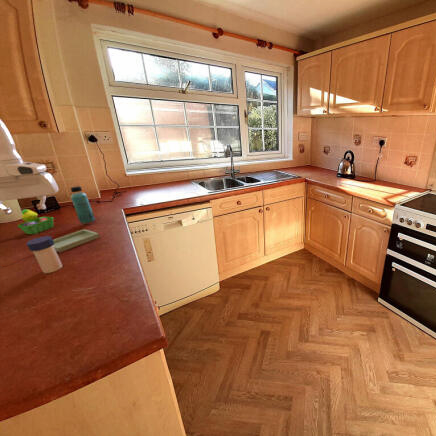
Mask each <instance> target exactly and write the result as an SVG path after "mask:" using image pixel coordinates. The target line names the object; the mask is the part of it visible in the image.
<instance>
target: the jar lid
mask: <svg viewBox="0 0 436 436" xmlns="http://www.w3.org/2000/svg"><path fill="white" fill-rule="evenodd" d="M53 240H54V239H53V237H52V236H51V235H45V236H39V237H35V238H32V239H30V240H28V241H26V246H27V248H28V250H29V251H30V252H32V251H39V250H43V249H46V248H49V247H51V246H52V245H54V242H53Z"/></svg>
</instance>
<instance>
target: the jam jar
mask: <svg viewBox="0 0 436 436" xmlns="http://www.w3.org/2000/svg"><path fill="white" fill-rule="evenodd" d="M31 252H32V253H33V255H34V257H35V260H36V262H37V263H38V265H39V267H40V269H41V271H42V273H43V274H49V273H50V274H51V273H53V272H56V271H58V270H60V269H62V268H63V263H62V261H61V259H60V256H59V254H58V253H57V251H56V250H55V248H54V246H53V245H52V246H51V247H49V248H46V249H43V250H39V251H31Z"/></svg>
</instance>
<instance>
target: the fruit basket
mask: <svg viewBox="0 0 436 436" xmlns="http://www.w3.org/2000/svg"><path fill="white" fill-rule="evenodd" d="M20 212H21V218H22V220H23V221H24V222H22V223H20V224H17V227H18V228H19V229H20V230H21V231H23V233H25V234H26V235H37V234H38V233H42V232H45V231H48V230H49V229H53V228H54V217H53V216H40V217H38V216H39V215H38V213H37V212H35V211H33V210H31V209H26V208H25V209H21V211H20Z"/></svg>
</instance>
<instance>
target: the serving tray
mask: <svg viewBox="0 0 436 436" xmlns="http://www.w3.org/2000/svg"><path fill="white" fill-rule="evenodd" d="M99 238H100V234H99V233H98V232H95V231H92V230H89V229H85V228H84V229H81V230H78V231H75V232H72V233H69V234H66V235H64V236H60V237H57V238H54V239H53V242H54V245H53V246H54V248H55V250H56V252H58V253H62V252H65V251H68V250H70V249H73V248H75V247H77V246H80V245H83V244H86V243H89V242H91V241H94V240H96V239H99Z"/></svg>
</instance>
